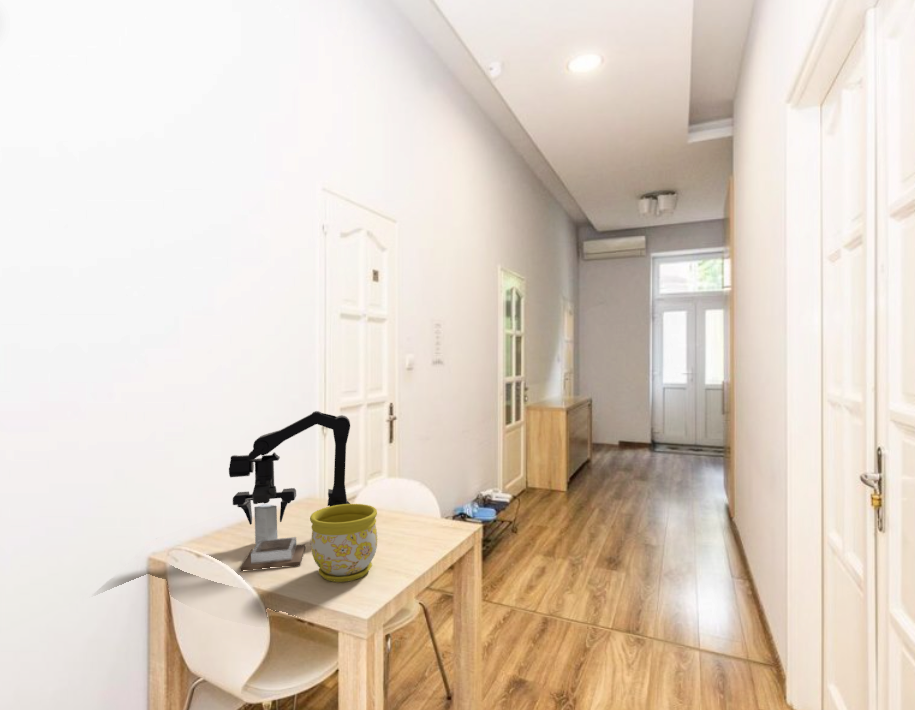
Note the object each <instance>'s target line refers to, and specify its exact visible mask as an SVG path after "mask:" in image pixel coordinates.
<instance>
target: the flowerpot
mask: <svg viewBox="0 0 915 710" xmlns="http://www.w3.org/2000/svg"><path fill="white" fill-rule="evenodd" d="M377 515H378V511H377V508H376V507H374V506H372V505H370V504H369V505H368V504H364V503H350V504H342V505H335V506H330V505H329V506H326V507H323V508H320V509H318V510H316V511H314V512H312V513H311V515H310V516H309V517H310V518H309V520H310V523H311V524H312V525H311V539H310V542H311V543H310V546H311V549H310V550H311V555H312V558H313V560H314V562H315V565H317V567H318V575H320V576H322V578H323V579H324V580H326V581H329V582H334V583H344V582H346V583H347V582H352V581H355V580H359V579H360V578H363V577H364V576H366V575H367V574H368V573H369V571H370V570H371V569H372V566H373V564H372V560H373V559H374V557H375V556H376V553H377V549H378V531H377V530H378V529H377V519H376V517H377Z"/></svg>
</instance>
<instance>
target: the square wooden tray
mask: <svg viewBox="0 0 915 710" xmlns="http://www.w3.org/2000/svg"><path fill="white" fill-rule="evenodd" d="M253 549H254V548H252V549H251V550H250V551H249V552H248V554H247V556H246V558H245V559H244V561H243V563H242V564H241V566H240V572H241V571H243V570H253V569H262V568H270V567H282V566H293V567H299V566H298V565H300V566H301V565H302V562H303V558H302V557H304V555H303V554H304V553H305V552H306V551H305V550H306V543H305V544H296V549H295V552H294V555H293V558H292V560H291V561H281V562H271V563H261V564H251V553H252V551H253ZM280 550H284V549H280ZM269 551H274V550H269ZM262 552H263V551H262Z"/></svg>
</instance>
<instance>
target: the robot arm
mask: <svg viewBox="0 0 915 710" xmlns="http://www.w3.org/2000/svg"><path fill="white" fill-rule="evenodd" d="M315 425H318V426H322V427H325V428H327V429H330V430H332V433H333V439H334V469H333V471H334V475H333V485H332V489H329V488H328V490H327V491H328V492H327V497H328V500H327V505H326V507H330V506H335V505H342V504H351V503H350V502H349V501H348V497H347V496H348V495H347V490H346V485H345V484H346V460H347V459H346V457H347V456H346V455H347V453H346V451H347V442H348V438H349V434H350V428H351V422H350V419H349V418H348V417H347V416H346V415H337V416H336V415H332V414H329V413H324V412H321V411H319V410H316V411H313V412H312V413H310V414H309V415H307V416H305V417H303V418H301V419H299V420H297V421H295V422H293V423H291V424H289V425H287V426H285V427H284V428H281V429H279V430H275V431H272V432H268V433H266V434H265V433H264V434H262V435H261V436H259V437H258V438H256V439H255V440H254V442H253V445H252V447H253V449H252V450H251V451H250V452H249V453H248V454H245V455H236V454H234V455H231V456H230V461H229V467H228V474H229V475H228V476H229V477H230V478H238V477H239V478H240V477H241V478H243V477H250V475H251V474H252V473H254V479H255V480H254V487H253V491H252V493H250V491H239V492H237V493H236V494H235V495H234V496H233V497H232V505H233V506H236V507H237V508H241V509H242V511H243V512H244V514H245V516H246V518H247V521H248V523H249V525H252V524H253V516H252V515H253V514H252V512H253V511H252V503H253V505H258V504H268V503H270V500H273V499H275V500H276V499H281V501H280V512H279V522H280V523H281V522H282V521H283V517H284V514H285V511H286V508H287V505H288V504H291V502H292V501H294V500H296V497H297V490H296V489H295V487H293V488H292V487H291V488H283V490H282V491H277V487H276V485H275V468H274V466H275V464H274V463H275V462H276V461H279V460H280V458H281V457H280V455H278V454H277V453H276V452H272V451H273V450H274V449H276V448H277V447H279V446H280V445H281V444H282V443H284V442H285V441H287V440H289V439H290V438H292V437H295V436H296V435H298V434H300V433H303V432H305V431H306V430H308V429H310V428H312V427H314V426H315ZM270 452H272V454H269V453H270ZM268 454H269V455H268ZM259 456H261V458H258V457H259ZM274 461H275V462H274Z"/></svg>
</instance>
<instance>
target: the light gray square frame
mask: <svg viewBox="0 0 915 710" xmlns="http://www.w3.org/2000/svg"><path fill="white" fill-rule="evenodd" d="M296 545H297V537H296V536H294V537H293V536H292V537H282V538H278V539H270V540H259V541H258V542H257V544H255V546H254V548H252V549H253V551H252V553H251V564H261V563H271V562H281V561H291V560H292V558H293V555H294V552H295V549H296ZM280 549H284V550H280ZM269 550H274V551H269ZM262 551H263V552H262Z"/></svg>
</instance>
